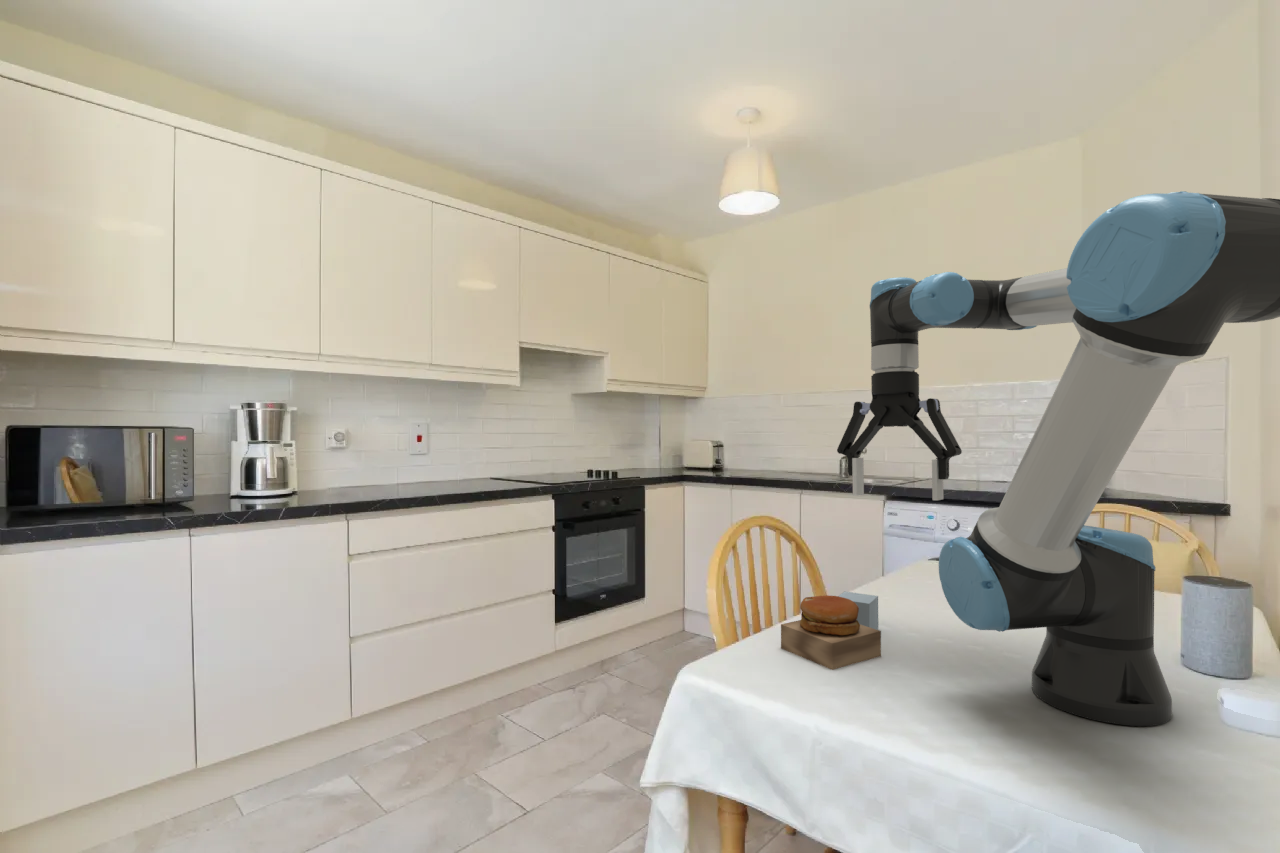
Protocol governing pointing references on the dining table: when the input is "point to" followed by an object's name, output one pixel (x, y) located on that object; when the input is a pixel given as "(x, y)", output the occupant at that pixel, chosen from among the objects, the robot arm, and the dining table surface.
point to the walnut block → (831, 645)
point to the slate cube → (865, 608)
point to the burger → (829, 615)
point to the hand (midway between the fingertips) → (896, 497)
